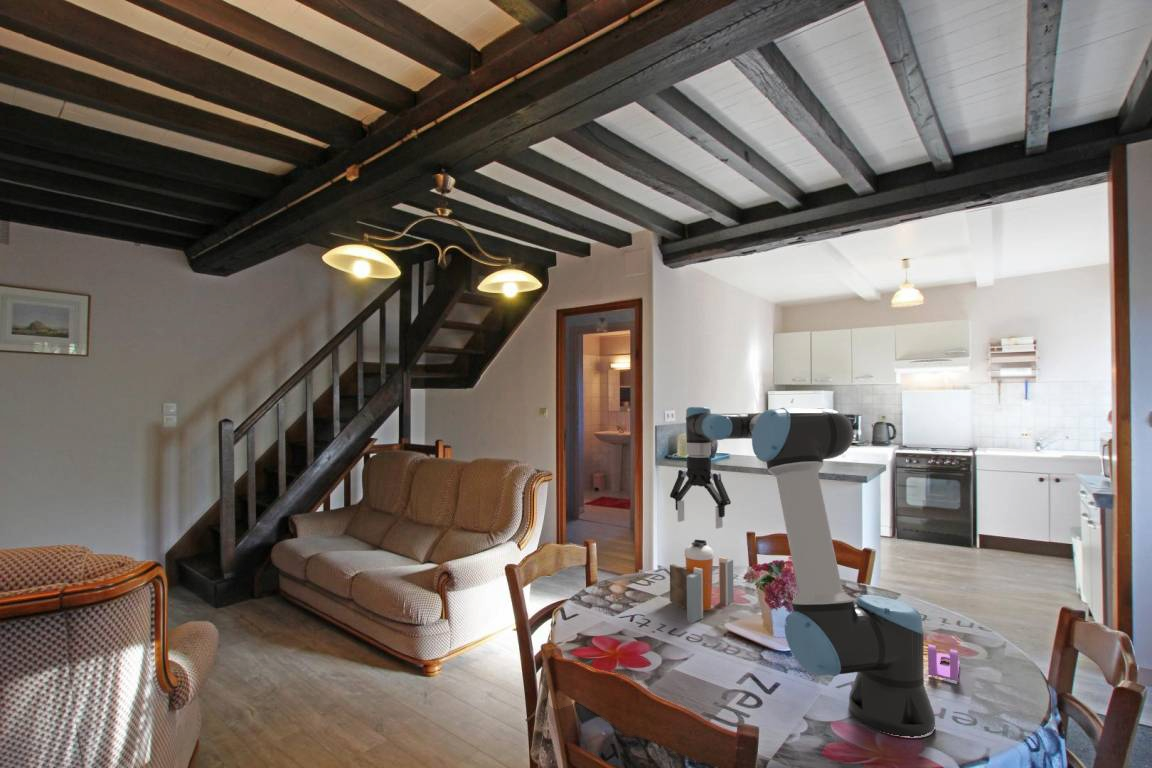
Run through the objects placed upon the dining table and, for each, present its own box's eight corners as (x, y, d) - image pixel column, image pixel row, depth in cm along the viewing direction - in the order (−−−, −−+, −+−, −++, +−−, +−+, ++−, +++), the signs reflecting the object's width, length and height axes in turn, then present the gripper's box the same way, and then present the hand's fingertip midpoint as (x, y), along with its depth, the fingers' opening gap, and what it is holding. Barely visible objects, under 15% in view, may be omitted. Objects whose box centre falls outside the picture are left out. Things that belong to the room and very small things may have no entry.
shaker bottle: (683, 610, 166) (682, 544, 167) (686, 599, 175) (686, 537, 175) (713, 613, 164) (712, 546, 164) (714, 602, 172) (714, 539, 173)
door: (706, 613, 162) (705, 575, 162) (700, 615, 161) (699, 576, 161) (675, 599, 173) (675, 563, 174) (670, 601, 172) (669, 564, 172)
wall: (693, 623, 156) (693, 573, 157) (686, 620, 158) (685, 571, 159) (734, 600, 174) (733, 555, 174) (726, 598, 176) (726, 554, 176)
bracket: (957, 685, 123) (957, 654, 123) (928, 677, 126) (927, 647, 126) (960, 663, 133) (959, 634, 133) (933, 656, 136) (932, 628, 137)
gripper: (741, 457, 164) (742, 528, 163) (672, 452, 181) (672, 516, 181) (729, 459, 159) (730, 532, 158) (658, 454, 176) (659, 520, 175)
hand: (699, 524), depth 169 cm, fingers open, 13 cm apart
